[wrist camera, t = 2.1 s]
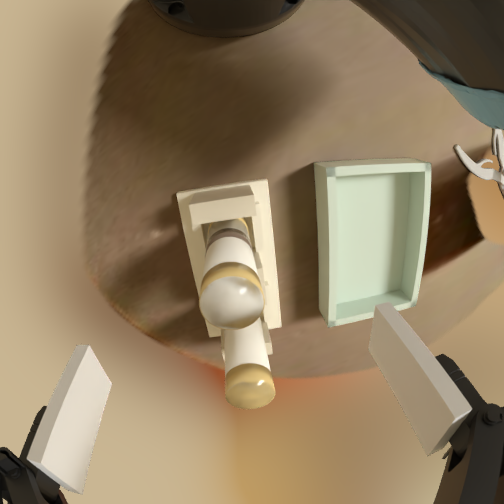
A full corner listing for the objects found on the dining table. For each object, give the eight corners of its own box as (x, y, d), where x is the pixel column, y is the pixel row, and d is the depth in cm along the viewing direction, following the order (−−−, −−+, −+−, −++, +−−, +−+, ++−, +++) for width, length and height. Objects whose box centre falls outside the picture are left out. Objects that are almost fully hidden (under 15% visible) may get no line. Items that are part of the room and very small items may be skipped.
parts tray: (313, 162, 25) (326, 167, 22) (411, 157, 26) (431, 163, 22) (318, 308, 32) (328, 327, 29) (401, 290, 32) (415, 305, 29)
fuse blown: (205, 214, 25) (192, 280, 14) (244, 208, 26) (261, 270, 15) (212, 249, 27) (206, 333, 16) (249, 244, 27) (267, 325, 16)
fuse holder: (177, 191, 25) (167, 205, 21) (266, 178, 25) (275, 189, 21) (209, 332, 32) (208, 363, 27) (280, 322, 32) (288, 352, 27)
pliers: (488, 95, 21) (528, 173, 26) (480, 94, 23) (521, 170, 27) (460, 150, 24) (503, 223, 29) (451, 148, 26) (496, 219, 30)
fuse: (220, 291, 29) (220, 383, 18) (255, 286, 29) (273, 376, 18) (226, 318, 30) (230, 411, 19) (259, 314, 30) (276, 405, 19)
